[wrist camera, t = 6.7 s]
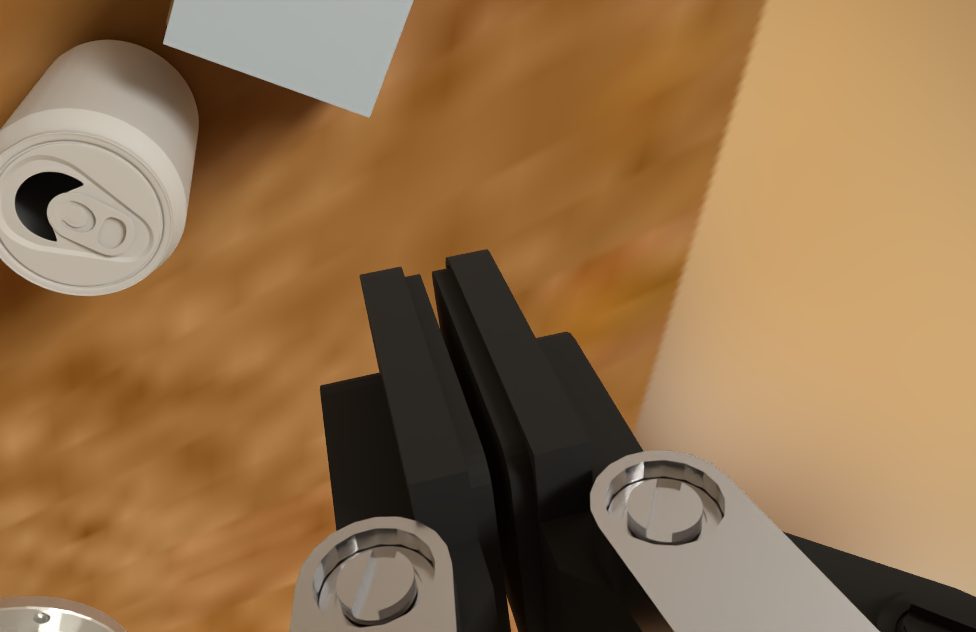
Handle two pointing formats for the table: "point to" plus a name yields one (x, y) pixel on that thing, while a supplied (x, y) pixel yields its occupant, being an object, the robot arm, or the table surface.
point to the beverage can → (97, 170)
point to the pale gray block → (297, 43)
